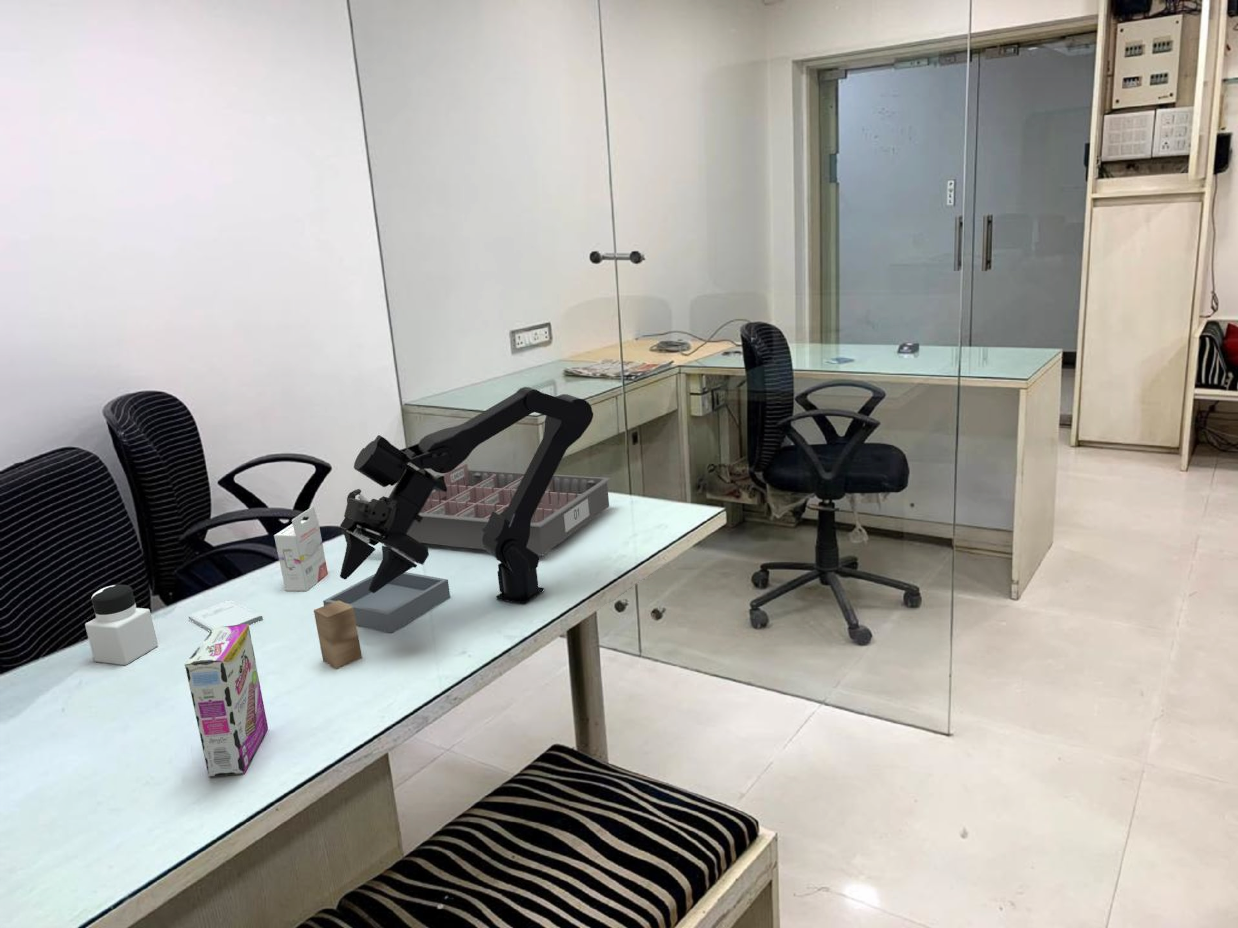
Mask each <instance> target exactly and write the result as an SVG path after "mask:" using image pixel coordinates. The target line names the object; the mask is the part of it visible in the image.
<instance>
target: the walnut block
mask: <svg viewBox="0 0 1238 928" xmlns="http://www.w3.org/2000/svg"><path fill="white" fill-rule="evenodd" d="M313 613H314V614H313V615H314V619H315V620H314V621H315V624H316V630H317V635H318V642H319V646H320V651H321V652H320V653H321V658H322V661H323V662H324V663H326V665H329V666H331V667H333V668H334V669H335V670H338V669H340V668H343V667H345V666H347V665H350V664H352V663H354V662H357V661H359V660H361V659H363V655H362V650H361V649H362V648H361V645H360V639H359V631H358V626H356V620H355V614H354V608H353V607H352V606H350V605H348V604H346V603H344V602H342V601H340V600H339V601H336V602H333V603H331V604H328V605H326V606H324V605H323V606H321V607H318V608H315V609H313Z"/></svg>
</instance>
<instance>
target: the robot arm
mask: <svg viewBox="0 0 1238 928" xmlns="http://www.w3.org/2000/svg"><path fill="white" fill-rule="evenodd" d="M533 413H537V414H540V415H544V416H545V419H544V427H543V429H544V431H543V436H542V439H541V441H540V444H539V446H538V447H537V449H536V450H535V453H534V455H533V457H532V459H531V461H530V463H529V465H528V466H527V469H526V471H525V472H524V473H525V474H524V476H523V478H522V480H521V482H520V484H519V486H518V488H517V490H516V492H515V494H514V496H513V498H512V500H511V502H510V504H509V506H508V507H507V508H506V509H505V510H504V511H503V512H501V513H500V514H497V513H496V512H494V511H493V512H492V513H491V515H490V518H489V521H488V523H487V525H486V526H485V527H484V528H483V529H482V531H483V532H484V535H483V538H482V542H483V545H484V548H485V549H484V550H486V552H487V553H488V554H490V555H491V556H493V557H494V558H495V560H497V561H499V563H498V564H497V566H498V567H497V569H498V571H496V572H497V578H498V579H497V580H498V589H499V592H500V593H499V594H497V595H496V596H495V597H496V600H498V601H499V600H500V601H505V602H510V603H516V604H519V605H520V604H522V605H524V604H527V603H528V602H530V601H532V600H533V599H534V598H536V597H537V596H539V595H540V594H541V593H540V592H542V591H543V590H544V591H545V588H544V587H542V586H541V587H539V580H538V573H537V571H538V570H537V568H538V567H539V562H540V559H541V557H540V555H537V554H536V553H534V552H533V551H532V550H530V549H529V548H527V544H528V541H529V538H530V528H531V519H532V517H533V515H534V513H535V511H536V509H537V507H538V505H539V503H540V501H541V499H542V497H543V495H544V493H545V491H546V489H547V487H548V485H549V483H550V481H551V479H552V478H553V476H554V475H556V471H557V469H558V468H559V466H560V463H561V462H562V460H563V458H564V456H565V454H566V452H567V450H569V448H570V447H571V446H572V445H573V444H574V443H576V442H577V441H578V440H579V439H581V437H582V436H583V435H584V433H585V432H586V430H587V429H588V428H589V426H590V425H591V423H592V421H593V418H594V412H593V408H592V406H591V404H590V403H589V401H587V400H585V399H582V398H579V397H577V396H575V395H574V396H573V395H572V394H571V395H570V394H568V393H563V394H560V395H557V396H554V395H551V394H548V393H546V392H545V393H544V392H541V391H540V390H538V389H535V388H532V387H529V386H523V387H521V388H519V389H518V390H517V391H516V392H515V393H513V394H511V395H510V396H507V398H504V399H502V400H501V401H500V402H497V403H496V404H494V405H493V406H491V407H489V408H488V409H486V410H484V411H482V412H481V413H479V414H477V415H475V416H474V417H472V418H471V419H469V420H467V421H466V422H464V423H461V424H458V425H455V426H452V427H451V426H450V427H446V428H443V429H440V430H437V431H434V432H432V433H429V434H427V435H425V436H424V437H423V438H421V439H420V440H419V442H418V443H415V444H413V445H410V446H407V447H404V448H402V449H399V448H397V447H396V446H395V445H393V444H392V443H391V442H390V441H389V440H387V439H386V438H385V437H384V436H381V434H380V435H379V434H378V435H377V436H376V437H375V439H374V440H371V442H369V443H368V444H367V445H366V446H365V447H363V448H362V449H361V450H360V451H359V453H358V455H357V457H356V458H355V461H354V464H353V468H354V470H355V471H357V472H359V473H360V474H361V475H363V476H365V477H367V478H368V479H370V480H371V481H373V482H375V483H376V484H378V485H379V486H380V487H383V488H386V487H388V486H392V487H393V486H394V487H393V489H392V490H391V492H390V494H389V495H388V497H386V496H384V495H382V497H379V499H376V498H372V499H371V500H370V501H369V500H368V501H364V500H360V499H359V498H358V499H357V498H355V499H353V498H348V502H347V501H346V506H345V510H344V511H345V512H344V515H343V520H342V522H341V523H340V525H339V527H340V528H342V530H341V534H342V535H343V536H344V539H345V542H346V547H345V554H344V557H343V562H342V566H341V571H340V574H339V577H340V579H343V580H347V579H348V578H349V577H350V576H352V574H353V573H354V572H355V571H356V570H357V569H358V568H359V567H360V566H361V565H362V564H363V563H364V562H365V561H366V560H367V559H368V558H369V557H370V556H371V555H372V554H373V553H374V552H375V551H376V548H375V547H373V546H376V545H377V544H379V543H381V544H383V545H381V553H382V554H381V555H382V560H381V562H380V564H379V566H378V568H377V569H376V572H375V573H374V574H375V576H374V578H373V580H372V582H371V584H370V587H369V591H370V592H372V593H375V592H377V591H378V590H379V589H381V588H382V587H384V586H385V585H386V584H388V583H389V582H391V581H392V580H394V579H395V578H396V577H398V576H400V575H401V574H403V573H404V572H407V571H409V570H411V569H413V568H415V569H416V568H417V567H418V565H419V564H420V565H422V566H424V564H425V562H426V561H427V559H428V557H429V555H430V554H429V547H428V546H426V545H424V543H420V542H418V541H417V540H415V539H414V538H412V537H411V536H409V535H407V534H408V532H409V530H410V528H411V527H412V525H413V523H414V522H415V521H416V522H419V523H420V522H421V520H422V518H423V517H421V516H420V515H419V513H420V511H421V510H422V508H423V506H424V505H425V503H426V501H427V500H428V498H429V496H430V495H431V493H432V491H433V489H435V490H436V491H441V492H446V491H447V487H446V484H445V481H444V476H441V475H443V474H445V473H448V472H451V471H452V470H454V469H455V468H457V467H459V466H461V464H462V463H463V462H464V461H465V460H467V458H468V457H469V456H470V455H471V453H472V452H473V451H474V450H475V449H476V448H477V447H478V446H480V445H481V444H483V443H484V442H487V440H489V439H491V438H492V437H494V436H496V435H498V434H499V433H501V432H503V431H504V430H506V429H508V428H509V427H511V426H512V425H515V424H516V423H518V422H519V421H522V420H523V419H524V418H526V417H528V416H529V415H531V414H533ZM409 463H410V464H411V465H409ZM412 465H413V466H415V467H416V468H418V469H416V468H414V467H412ZM427 469H428V470H432V471H434V472H435V473H439V474H441V475H439V474H438V475H436V476H435V475H434V474H432V473H431V472H429V471H428V470H427ZM384 544H385V545H388V546H390V547H392V549H390V548H387V547H386V546H385V545H384ZM416 563H417V564H418V565H417V564H416ZM544 591H543V592H544ZM543 592H542V593H543ZM539 593H540V594H539ZM538 594H539V595H538ZM535 596H536V597H535Z"/></svg>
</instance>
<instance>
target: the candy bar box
mask: <svg viewBox="0 0 1238 928" xmlns="http://www.w3.org/2000/svg"><path fill="white" fill-rule="evenodd" d="M251 635H252V634H251V631H250V625H249V624H244V625H233V626H225V627H215V628H214V629H213V630H212V631H211V632H209V634H207V636H206V637H205V639H204V640H203V642H201V643H200V645H199V646H198V647H197V649H195V651H194V652H193V653H192V655H191V656H190V657H189V658H188V660H187V661H186V662H185V664H184V666H185V671H186V676H187V677H186V678H187V680H188V681H187V682H188V686H189V690H190V695H191V699H192V705H193V709H194V715H195V719H196V724H197V729H198V733H199V738H200V743H201V747H202V752H203V757H204V762H205V766H206V769H207V776H208V777H209V778H215V777H217V778H218V777H224V776H226V777H227V776H236V775H237V776H238V775H244V774H245V773H246V771H247V769H248V767H249V766H250V763H251V762H252V760H253V758H254V755H255V754H256V752H257V750H258V748H259V746H260V744H261V743H262V740H263V738H264V737H265V735H266V733H267V731H268V729H269V726H268V725H269V724H268V720H267V715H266V709H265V705H264V700H263V699H264V698H263V694H262V690H261V684H260V679H259V673H258V668H257V667H258V666H257V661H256V658H255V652H254V651H255V650H254V646H253V641H252V640H253V639H252V637H251Z"/></svg>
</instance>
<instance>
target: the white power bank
mask: <svg viewBox="0 0 1238 928" xmlns="http://www.w3.org/2000/svg"><path fill="white" fill-rule="evenodd" d="M189 619H190V620H191V621H190V620H189ZM188 620H189V621H190V622H192V621H193V622H194V623H193V622H192V623H193V624H195V623H196V625H197V624H198V625H197V626H199V627H200V626H201V627H200V628H202V627H203V628H202V629H204V630H206V631H207V630H209V631H210V632H209V631H208V632H209V633H211V631H212V630H213V629H214V628H215V627H225V626H233V625H244V624H249V626H251V624H252V625H254V624H256V622H257V623H258V621H259V622H262V621H263V620H264V617H263V615H261V614H259V613H257V612H255V611H254V610H251V609H249V608H248V607H245V606H243V605H241V604H239V603H238V602H235V601H233V600H231V599H230V600H226V601H224V602H221V603H218V604H215V605H213V606H209V607H206V608H204V609H201V610H198V611H196V612H193V613H190V614H189V615H188ZM253 623H254V624H253Z"/></svg>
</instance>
